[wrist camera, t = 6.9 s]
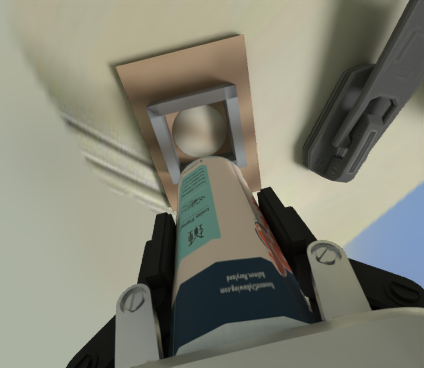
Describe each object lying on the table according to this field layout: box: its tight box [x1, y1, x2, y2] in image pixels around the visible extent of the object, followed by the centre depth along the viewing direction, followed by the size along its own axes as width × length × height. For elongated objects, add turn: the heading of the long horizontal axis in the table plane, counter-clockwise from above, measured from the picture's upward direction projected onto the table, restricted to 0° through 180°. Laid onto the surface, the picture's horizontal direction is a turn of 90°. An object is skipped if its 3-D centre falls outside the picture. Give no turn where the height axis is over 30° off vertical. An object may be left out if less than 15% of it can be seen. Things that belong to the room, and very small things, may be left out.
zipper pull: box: [303, 0, 424, 183], centre depth 25 cm, size 9×7×25 cm
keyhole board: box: [116, 34, 261, 212], centre depth 27 cm, size 20×14×4 cm
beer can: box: [169, 156, 318, 357], centre depth 11 cm, size 5×5×12 cm
